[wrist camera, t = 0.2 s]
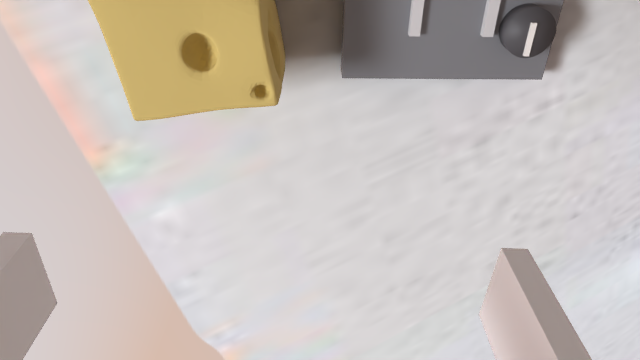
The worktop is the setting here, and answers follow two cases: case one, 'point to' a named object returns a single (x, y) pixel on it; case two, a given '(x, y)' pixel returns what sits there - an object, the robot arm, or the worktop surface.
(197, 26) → the cheese
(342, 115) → the worktop surface
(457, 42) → the console
